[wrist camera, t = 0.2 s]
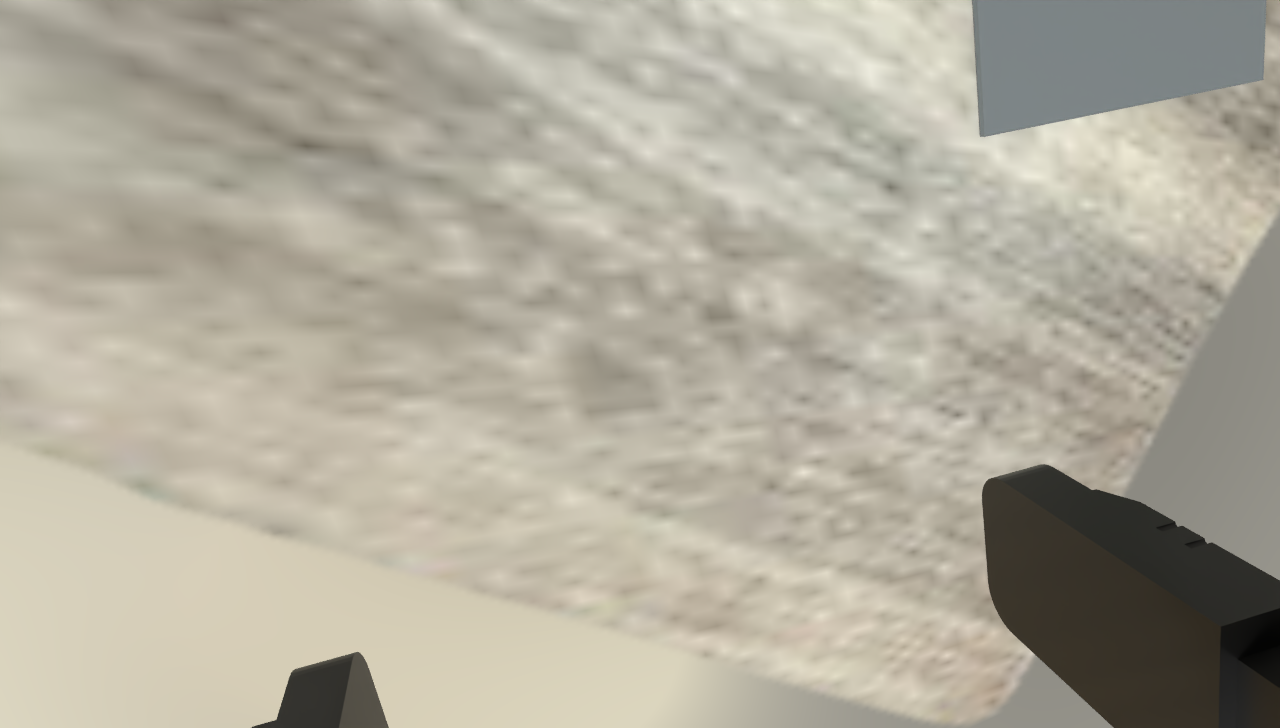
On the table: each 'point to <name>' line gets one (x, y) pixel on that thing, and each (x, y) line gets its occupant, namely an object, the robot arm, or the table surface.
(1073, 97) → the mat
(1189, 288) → the table surface
